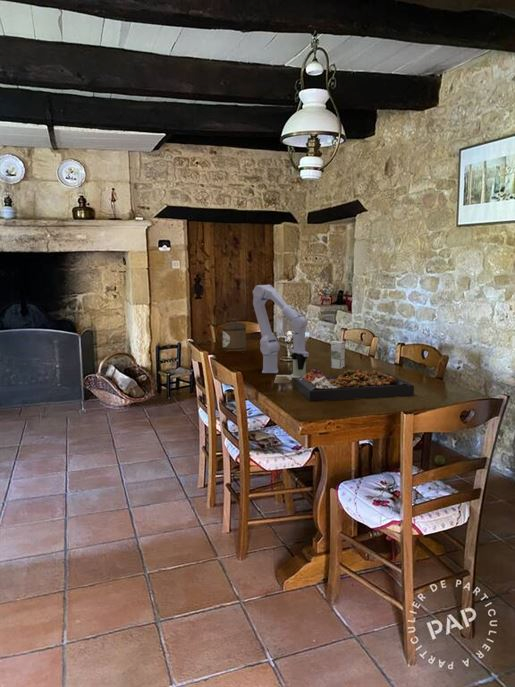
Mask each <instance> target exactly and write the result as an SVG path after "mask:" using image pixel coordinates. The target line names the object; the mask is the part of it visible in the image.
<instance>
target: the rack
mask: <svg viewBox="0 0 515 687" xmlns="http://www.w3.org/2000/svg"><path fill="white" fill-rule="evenodd" d="M276 376H287V378H289V380H290V381H292V378H291V374H276V375H275V379H274V380H276Z"/></svg>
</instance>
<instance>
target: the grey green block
mask: <svg viewBox="0 0 515 687" xmlns="http://www.w3.org/2000/svg"><path fill="white" fill-rule="evenodd" d="M306 362H307V360H306V361H305V364H304V367H303V370H299V369H298V361H297V359H294V360H293V359H292V374H293V376H304V375H306V374H307V373H306V367H307V366H306V365H307V363H306Z"/></svg>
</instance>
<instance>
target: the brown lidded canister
mask: <svg viewBox="0 0 515 687" xmlns="http://www.w3.org/2000/svg"><path fill="white" fill-rule="evenodd" d="M230 320H231V321H230V323H223V324H222V326H221V328H222V329H221V330H222V342H221V343H222V350H223V349H224V350H227V351H243V350H246V351H247V330H246V328H247V326H246V323H239V322H238V321H237V318H235V317H233V318H231V319H230Z"/></svg>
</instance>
